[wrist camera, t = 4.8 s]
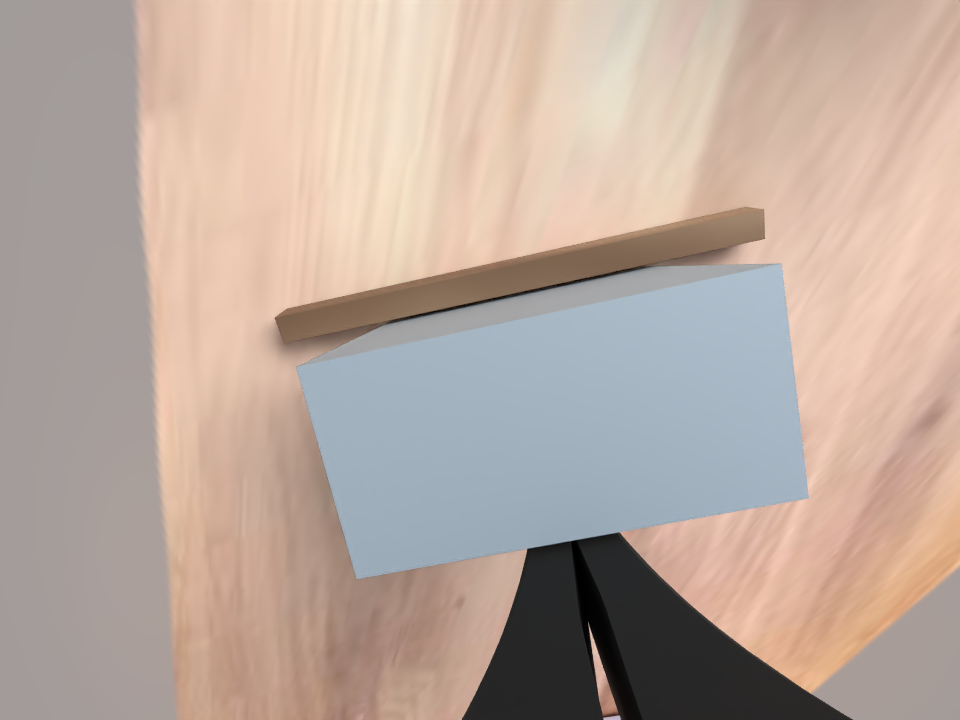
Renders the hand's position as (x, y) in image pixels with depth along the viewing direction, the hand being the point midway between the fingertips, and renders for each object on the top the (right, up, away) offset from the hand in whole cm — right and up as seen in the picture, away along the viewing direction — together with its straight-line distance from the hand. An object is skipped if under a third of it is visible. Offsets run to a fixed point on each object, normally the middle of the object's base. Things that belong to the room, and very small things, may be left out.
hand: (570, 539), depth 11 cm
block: (0, +4, +5) cm, 6 cm away
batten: (-1, +7, +4) cm, 8 cm away
